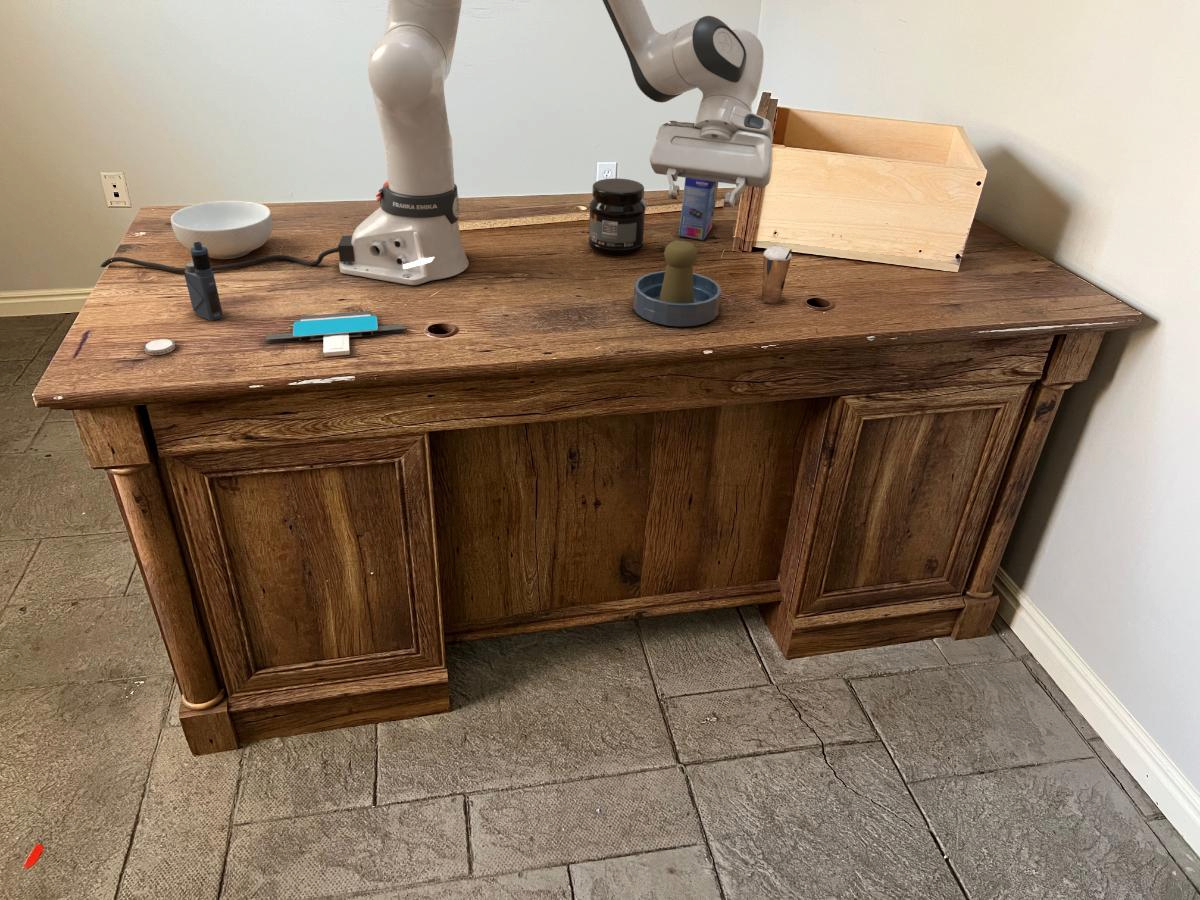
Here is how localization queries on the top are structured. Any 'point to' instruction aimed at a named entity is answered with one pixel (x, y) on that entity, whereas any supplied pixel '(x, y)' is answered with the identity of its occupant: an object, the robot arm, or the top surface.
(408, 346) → the top surface
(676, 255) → the olive peg figure
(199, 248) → the vaping device
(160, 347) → the white bottle cap
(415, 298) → the top surface
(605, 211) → the supplement container
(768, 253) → the milkshake
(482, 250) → the top surface
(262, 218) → the cereal bowl
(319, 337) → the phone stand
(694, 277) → the serving bowl
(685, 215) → the ink cartridge box
